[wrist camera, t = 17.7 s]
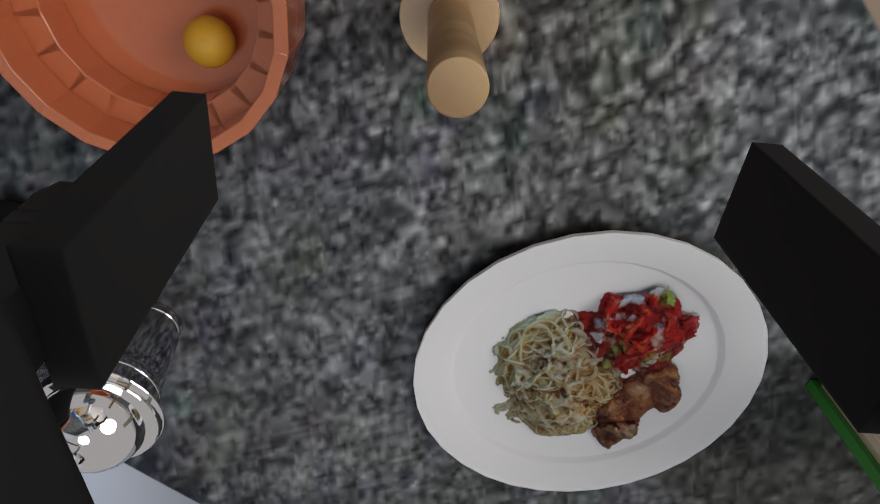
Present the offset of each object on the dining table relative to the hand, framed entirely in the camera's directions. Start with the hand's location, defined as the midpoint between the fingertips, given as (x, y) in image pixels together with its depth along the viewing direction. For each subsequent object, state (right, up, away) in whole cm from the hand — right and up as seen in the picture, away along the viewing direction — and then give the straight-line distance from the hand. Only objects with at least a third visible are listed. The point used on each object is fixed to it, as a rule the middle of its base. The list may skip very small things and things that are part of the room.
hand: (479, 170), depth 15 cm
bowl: (-17, +14, +22) cm, 31 cm away
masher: (0, +13, +23) cm, 26 cm away
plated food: (+12, -12, +39) cm, 43 cm away
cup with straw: (-25, -8, +36) cm, 44 cm away
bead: (-15, +11, +22) cm, 28 cm away
